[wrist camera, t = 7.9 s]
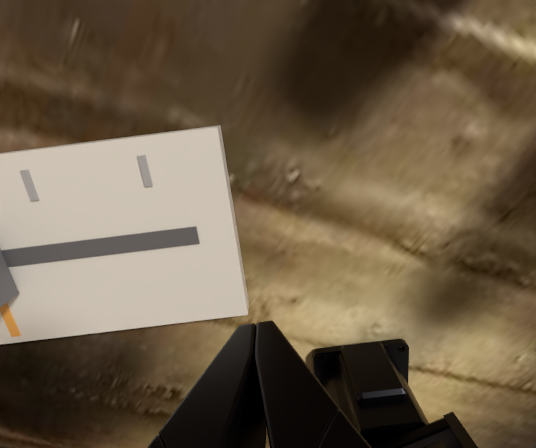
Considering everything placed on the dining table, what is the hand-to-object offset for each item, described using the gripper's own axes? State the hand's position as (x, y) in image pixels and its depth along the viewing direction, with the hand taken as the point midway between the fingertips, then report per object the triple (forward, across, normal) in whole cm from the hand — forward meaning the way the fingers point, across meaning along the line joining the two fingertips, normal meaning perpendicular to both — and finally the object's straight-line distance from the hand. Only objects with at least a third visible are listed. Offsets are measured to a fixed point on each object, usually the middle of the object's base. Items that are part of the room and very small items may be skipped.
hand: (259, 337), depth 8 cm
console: (+12, +12, 0) cm, 17 cm away
